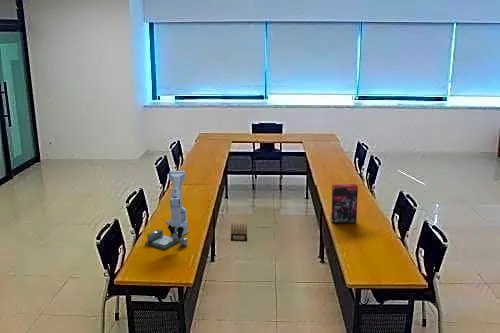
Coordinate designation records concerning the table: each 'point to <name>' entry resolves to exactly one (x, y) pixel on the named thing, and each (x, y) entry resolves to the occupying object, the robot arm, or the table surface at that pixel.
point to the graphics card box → (344, 203)
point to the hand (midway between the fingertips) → (176, 237)
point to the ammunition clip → (239, 233)
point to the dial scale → (160, 240)
